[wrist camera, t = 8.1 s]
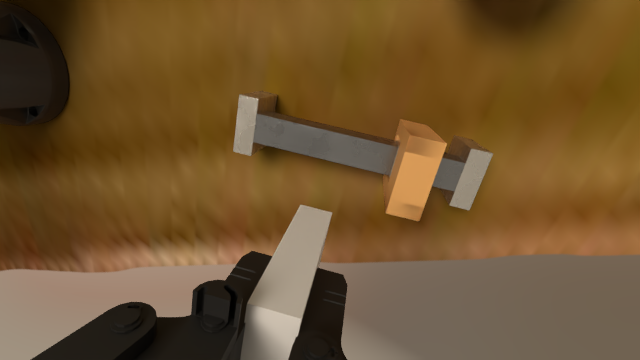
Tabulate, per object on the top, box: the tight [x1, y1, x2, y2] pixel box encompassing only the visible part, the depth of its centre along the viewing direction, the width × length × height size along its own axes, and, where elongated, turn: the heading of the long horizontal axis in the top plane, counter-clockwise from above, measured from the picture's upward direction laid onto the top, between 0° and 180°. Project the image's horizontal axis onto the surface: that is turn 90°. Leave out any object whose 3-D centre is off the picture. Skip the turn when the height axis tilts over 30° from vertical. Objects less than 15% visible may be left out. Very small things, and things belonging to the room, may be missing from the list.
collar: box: [383, 119, 447, 222], centre depth 31 cm, size 3×7×10 cm, turn 168°
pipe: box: [233, 91, 493, 210], centre depth 34 cm, size 25×6×7 cm, turn 78°
